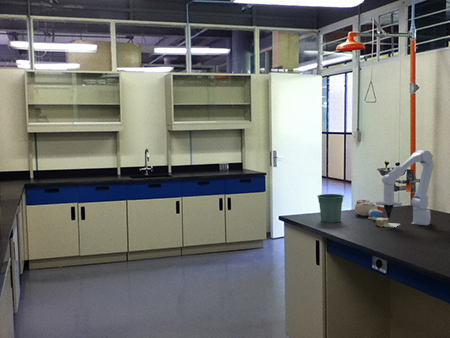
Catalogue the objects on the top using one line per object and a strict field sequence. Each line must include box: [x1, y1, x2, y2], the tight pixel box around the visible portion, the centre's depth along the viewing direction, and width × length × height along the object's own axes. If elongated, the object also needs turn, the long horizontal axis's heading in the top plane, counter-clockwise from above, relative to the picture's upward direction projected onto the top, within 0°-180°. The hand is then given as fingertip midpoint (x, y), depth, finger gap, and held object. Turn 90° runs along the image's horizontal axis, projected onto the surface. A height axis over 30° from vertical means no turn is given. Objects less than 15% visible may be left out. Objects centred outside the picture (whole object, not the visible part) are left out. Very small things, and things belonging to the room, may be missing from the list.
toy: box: [354, 199, 384, 221], centre depth 327 cm, size 18×10×30 cm
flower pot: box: [317, 193, 345, 224], centre depth 318 cm, size 16×16×16 cm
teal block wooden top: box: [375, 217, 389, 227], centre depth 301 cm, size 4×6×7 cm
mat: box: [378, 222, 401, 228], centre depth 301 cm, size 10×10×1 cm
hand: (388, 217), depth 300 cm, fingers closed
